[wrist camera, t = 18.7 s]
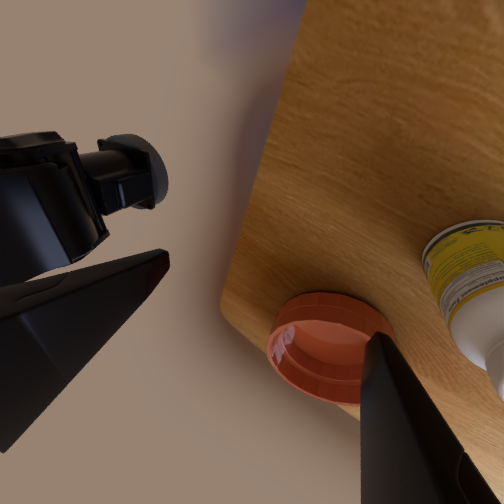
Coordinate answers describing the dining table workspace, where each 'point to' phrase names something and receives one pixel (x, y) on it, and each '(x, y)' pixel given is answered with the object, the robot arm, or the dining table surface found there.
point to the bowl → (324, 344)
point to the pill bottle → (471, 290)
